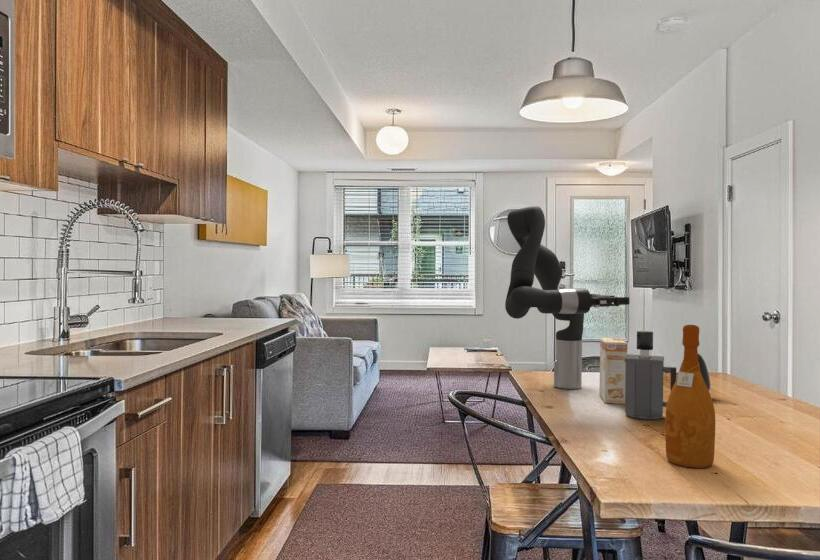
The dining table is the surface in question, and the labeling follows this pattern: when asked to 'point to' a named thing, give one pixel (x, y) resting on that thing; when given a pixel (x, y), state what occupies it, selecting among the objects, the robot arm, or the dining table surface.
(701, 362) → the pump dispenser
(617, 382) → the coffeecake box
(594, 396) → the dining table surface
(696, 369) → the wine bottle
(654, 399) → the press body
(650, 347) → the plunger
